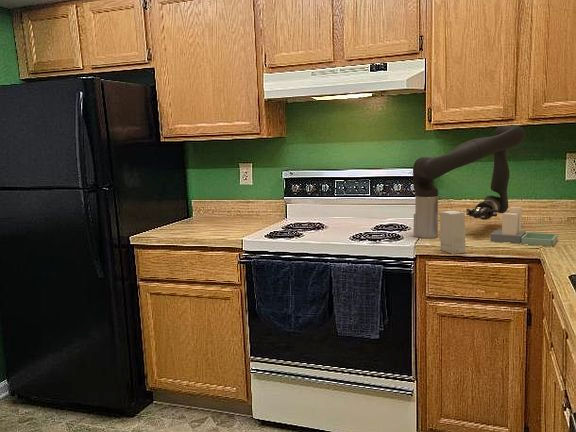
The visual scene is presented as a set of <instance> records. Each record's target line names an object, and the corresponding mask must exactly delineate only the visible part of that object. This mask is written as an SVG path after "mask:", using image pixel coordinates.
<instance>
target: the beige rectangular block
mask: <svg viewBox="0 0 576 432" xmlns="http://www.w3.org/2000/svg"><path fill="white" fill-rule="evenodd" d="M508 213H518V233H520V232H521V231H522V219H523V217H522V216H523V206H512V205H511V206H508Z"/></svg>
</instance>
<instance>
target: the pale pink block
mask: <svg viewBox="0 0 576 432" xmlns="http://www.w3.org/2000/svg"><path fill="white" fill-rule="evenodd" d="M501 214H502V215H501V216H502V219H501V220H502V223H501V230H502V234H505V235H516V234H518V213H509V212H505V213H501Z"/></svg>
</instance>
